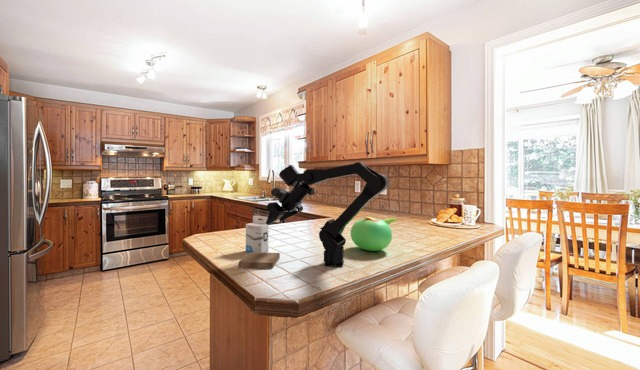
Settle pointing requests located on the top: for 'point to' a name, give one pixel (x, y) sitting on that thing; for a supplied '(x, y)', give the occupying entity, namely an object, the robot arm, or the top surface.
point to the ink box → (257, 235)
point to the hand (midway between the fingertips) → (273, 222)
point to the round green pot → (372, 233)
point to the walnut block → (259, 260)
